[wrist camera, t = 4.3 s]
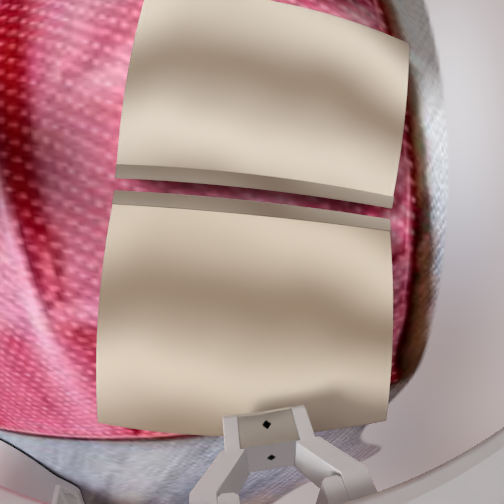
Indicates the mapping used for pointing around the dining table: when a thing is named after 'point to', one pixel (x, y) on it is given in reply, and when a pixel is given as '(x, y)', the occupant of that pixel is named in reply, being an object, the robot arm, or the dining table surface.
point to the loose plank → (241, 313)
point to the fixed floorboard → (264, 100)
